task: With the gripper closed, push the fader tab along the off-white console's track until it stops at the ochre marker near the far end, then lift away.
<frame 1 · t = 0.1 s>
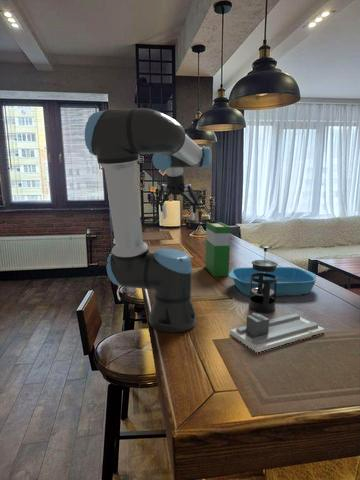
hand: (179, 218, 147), 28 cm above the bar counter, tool tilted 20°, fingers open, 13 cm apart
french press: (262, 309, 114), on the bar counter
hardback book: (216, 271, 162), on the bar counter
console: (277, 333, 95), on the bar counter
fader tab: (257, 324, 91), point 5 cm above the bar counter, slide at -8.0 cm
casserole dish: (270, 289, 136), on the bar counter
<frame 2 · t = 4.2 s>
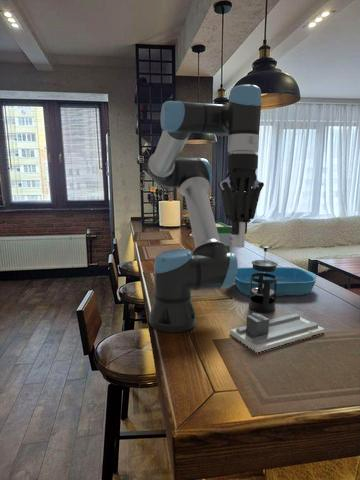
hand: (238, 246, 83), 28 cm above the bar counter, tool pointing down, fingers closed
nothing on the bar counter moved.
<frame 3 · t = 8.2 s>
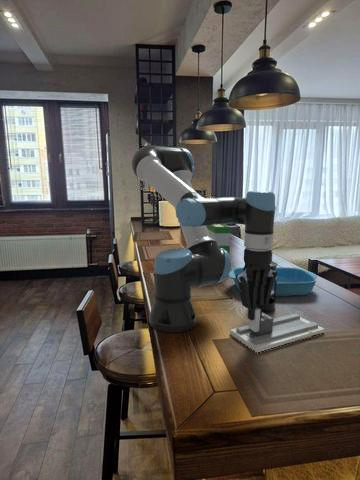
hand: (254, 329, 90), 4 cm above the bar counter, tool pointing down, fingers closed
fader tab: (261, 323, 92), point 5 cm above the bar counter, slide at -6.5 cm, touching gripper
everything else where it was.
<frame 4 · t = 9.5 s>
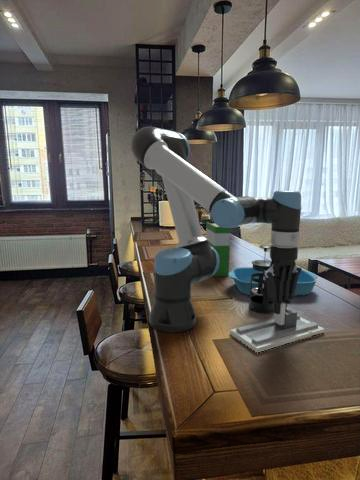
hand: (279, 323, 94), 4 cm above the bar counter, tool pointing down, fingers closed
fader tab: (285, 317, 96), point 5 cm above the bar counter, slide at 3.0 cm, touching gripper
everything else where it was.
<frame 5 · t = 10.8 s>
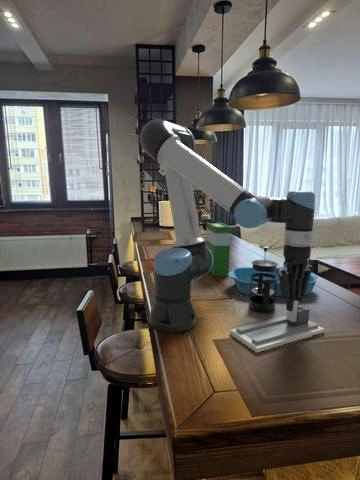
hand: (291, 319, 97), 3 cm above the bar counter, tool pointing down, fingers closed
fader tab: (298, 314, 98), point 5 cm above the bar counter, slide at 8.1 cm, touching gripper
everything else where it was.
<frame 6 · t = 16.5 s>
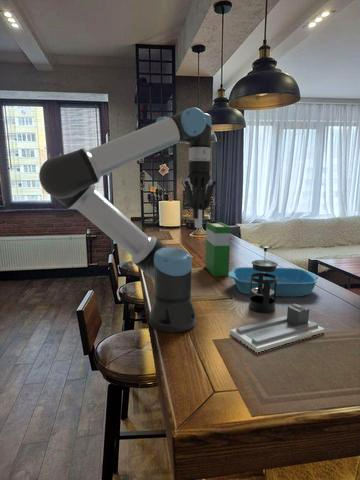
hand: (198, 227, 115), 28 cm above the bar counter, tool pointing down, fingers closed
fader tab: (297, 314, 98), point 5 cm above the bar counter, slide at 8.0 cm
at the end: fader tab slide at 8.0 cm; french press moved 0.2 cm from its start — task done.
